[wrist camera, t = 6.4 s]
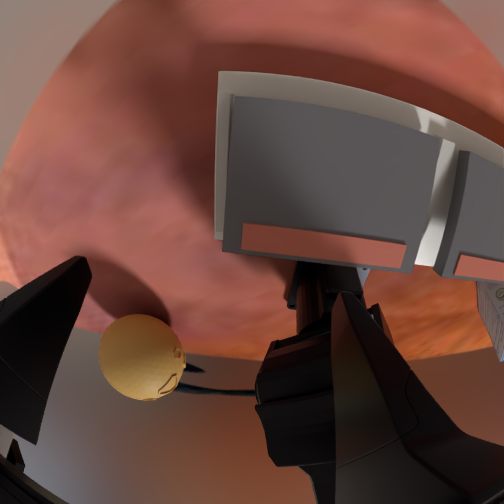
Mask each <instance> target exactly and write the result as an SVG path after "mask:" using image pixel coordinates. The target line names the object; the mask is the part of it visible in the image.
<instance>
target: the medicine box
mask: <svg viewBox="0 0 504 504" xmlns="http://www.w3.org/2000/svg"><path fill="white" fill-rule="evenodd" d="M477 294H478V311H479V314H480V316H481V318H482V320H483V322H484V325H485V327H486V329H487V331H488V334H489V336H490V338H491V341H492V343H493V345H494V348H495V351H496V353H497V356H498V358H499V360H500V362H501V361H504V284H498V283H489V282H480V281H477Z"/></svg>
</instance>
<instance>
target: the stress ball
mask: <svg viewBox="0 0 504 504" xmlns="http://www.w3.org/2000/svg"><path fill="white" fill-rule="evenodd" d="M99 362H100V366H101V369H102V372H103V374H104V375H105V377H106V379H107V380H108V382H109V383H110V384H111V385H112V386H113V387H114V388H115V389H116V390H118V391H119V392H120V393H122V394H124V395H126V396H128V397H131V398H134V399H139V400H143V401H152V400H155V399H156V398H159V397H161V396H163V395H165V394H168V393H170V392H172V391H173V390H174V389H175V388H176V387H177V384H178V381H179V379H180V377H181V375H182V372H183V368H185V367H186V354H184V353H183V348H182V345H181V343H180V341H179V339H178V337H177V335H176V334H175V333H174V331H173V330H172V329H171V328H170V327H169V326H168V325H167V324H165V323H164V322H163V321H161V320H160V319H158V318H155V317H153V316H149V315H144V314H131V315H127V316H124V317H121V318H119V319H117V320H116V321H114V322H113V323H112V324H111V325H110V326H109V327H108V328H107V329H106V331H105V332H104V334H103V336H102V338H101V341H100V345H99Z"/></svg>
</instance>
